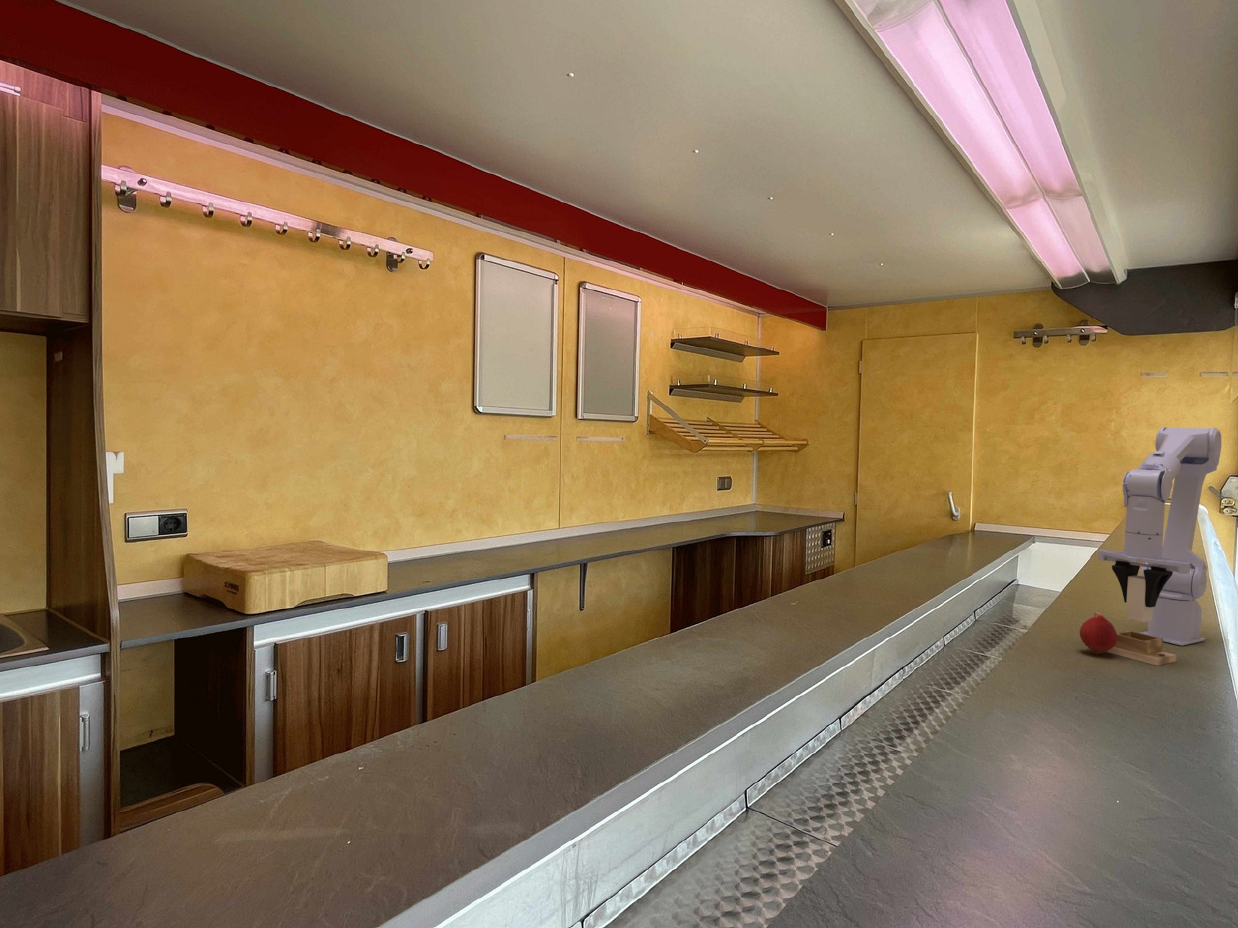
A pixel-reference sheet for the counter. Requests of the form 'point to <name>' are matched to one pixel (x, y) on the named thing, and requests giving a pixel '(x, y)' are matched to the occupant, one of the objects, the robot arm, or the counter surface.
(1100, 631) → the onion
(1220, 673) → the counter surface
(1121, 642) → the bracket
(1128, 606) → the post
